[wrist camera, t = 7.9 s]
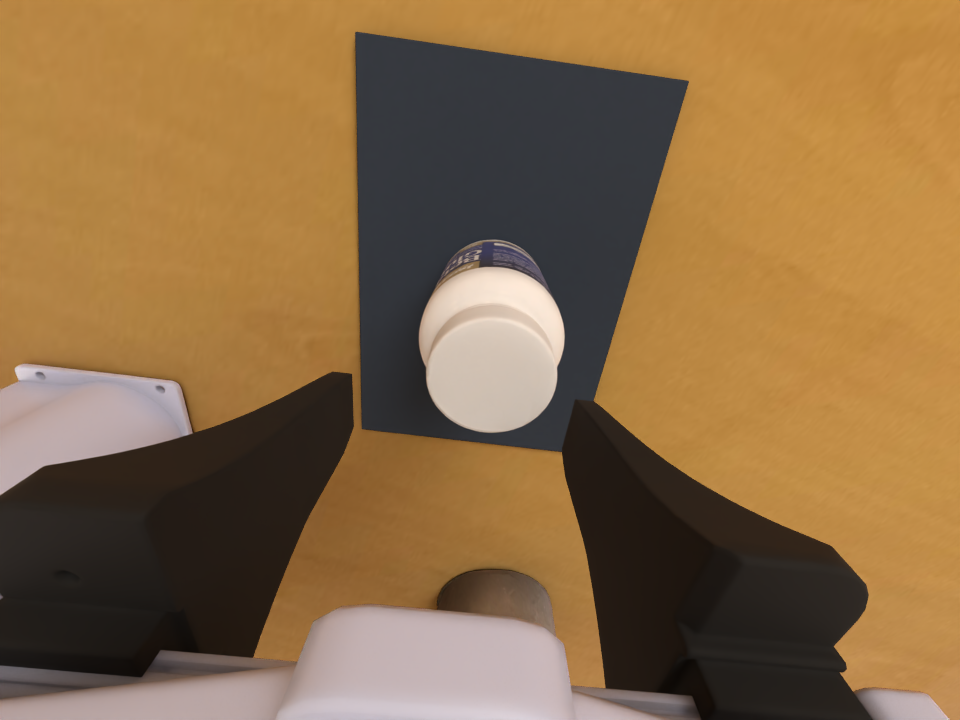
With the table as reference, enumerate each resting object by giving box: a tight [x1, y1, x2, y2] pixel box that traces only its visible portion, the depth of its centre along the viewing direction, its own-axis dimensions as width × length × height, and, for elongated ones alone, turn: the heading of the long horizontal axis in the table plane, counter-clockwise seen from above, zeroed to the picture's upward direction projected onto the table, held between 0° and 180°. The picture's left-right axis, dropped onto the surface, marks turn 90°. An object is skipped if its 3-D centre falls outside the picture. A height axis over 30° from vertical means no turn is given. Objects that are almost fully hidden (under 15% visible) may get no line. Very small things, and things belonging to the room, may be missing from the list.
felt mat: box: [355, 32, 689, 452], centre depth 20 cm, size 14×20×1 cm
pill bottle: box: [419, 240, 565, 433], centre depth 16 cm, size 5×5×10 cm
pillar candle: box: [437, 570, 556, 637], centre depth 26 cm, size 10×10×15 cm
